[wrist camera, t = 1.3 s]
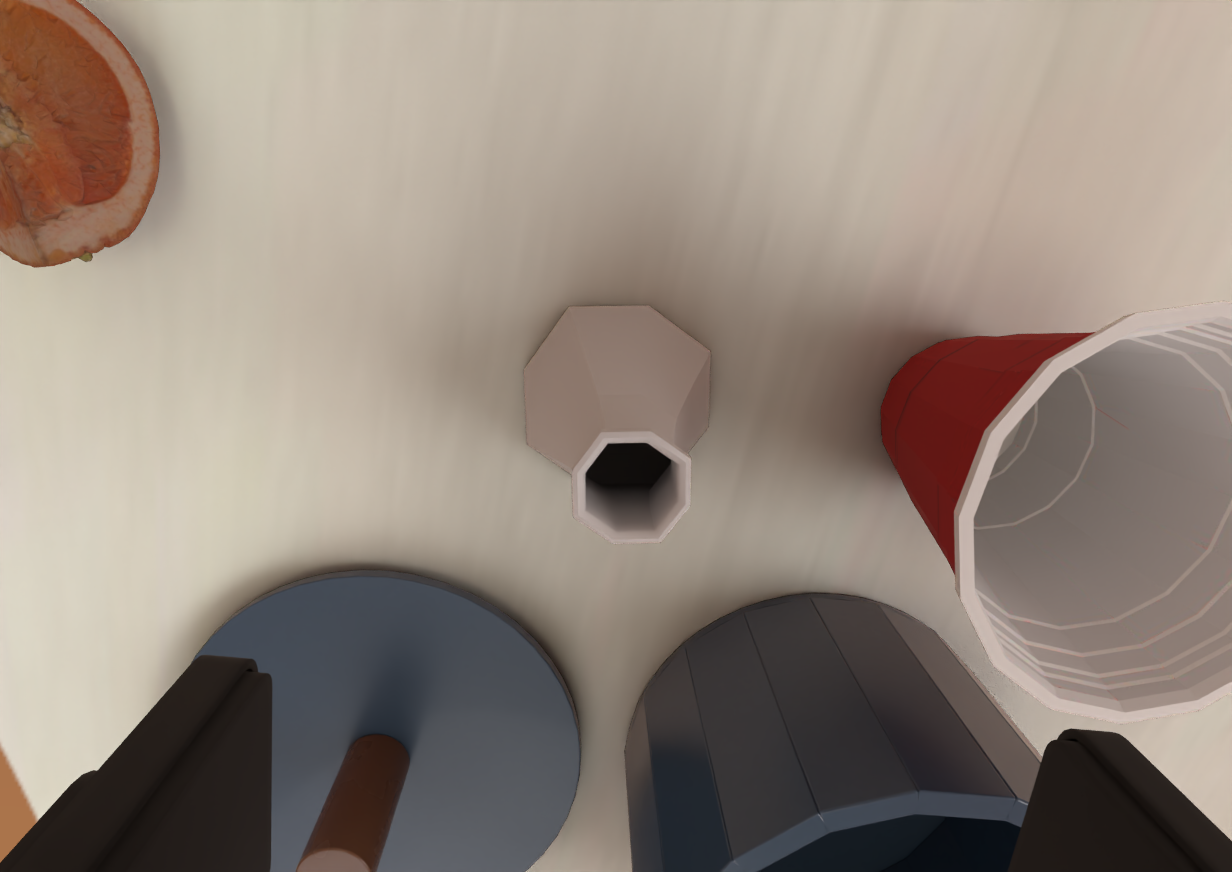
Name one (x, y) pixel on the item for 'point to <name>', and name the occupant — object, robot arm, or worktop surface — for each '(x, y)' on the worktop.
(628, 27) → the worktop surface
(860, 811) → the pot
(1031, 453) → the plastic cup
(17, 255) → the fruit slice
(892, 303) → the worktop surface
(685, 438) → the flask
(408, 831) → the lid
